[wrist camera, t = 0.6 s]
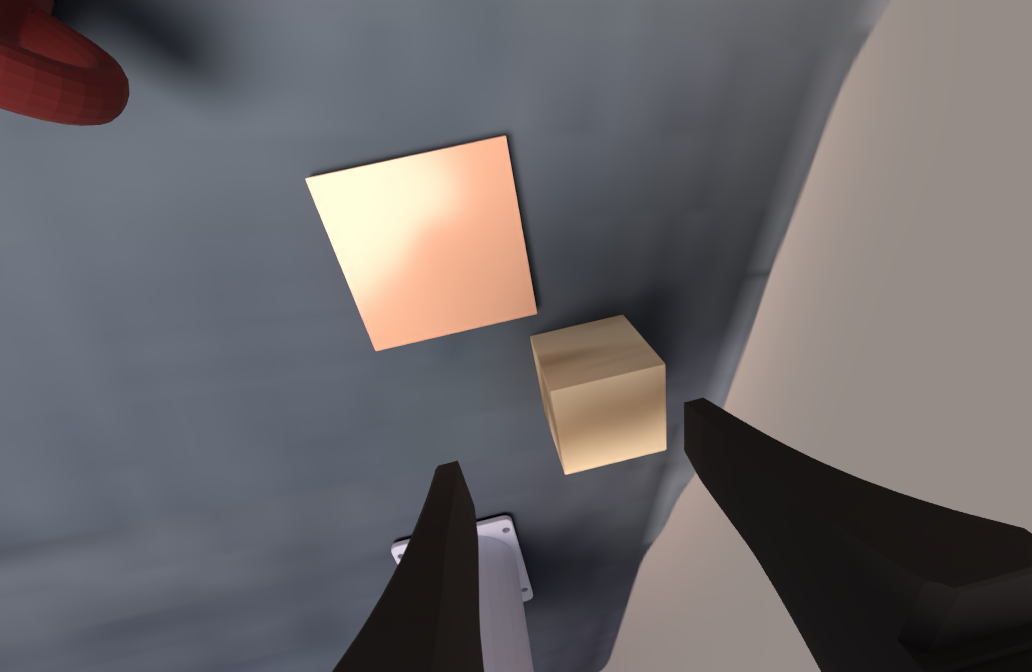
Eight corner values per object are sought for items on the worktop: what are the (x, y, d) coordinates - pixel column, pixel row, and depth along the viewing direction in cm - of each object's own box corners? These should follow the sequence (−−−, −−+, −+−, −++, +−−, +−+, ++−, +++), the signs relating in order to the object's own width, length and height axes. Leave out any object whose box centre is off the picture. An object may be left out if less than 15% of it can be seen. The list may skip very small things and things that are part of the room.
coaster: (534, 308, 21) (537, 313, 20) (377, 345, 21) (375, 351, 20) (503, 134, 17) (505, 135, 17) (309, 176, 17) (305, 178, 16)
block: (627, 389, 24) (666, 449, 20) (544, 409, 24) (565, 474, 20) (622, 313, 22) (665, 364, 18) (529, 335, 22) (550, 391, 17)
